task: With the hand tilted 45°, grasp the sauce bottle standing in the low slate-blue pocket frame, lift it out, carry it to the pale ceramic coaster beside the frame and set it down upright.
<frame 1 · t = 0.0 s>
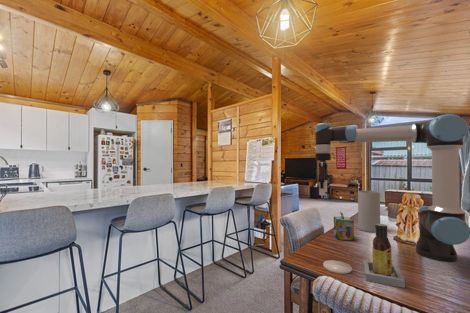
hand: (323, 193, 120), 28 cm above the table, tool pointing down, fingers open, 13 cm apart
coaster: (337, 267, 96), on the table
chalk box: (343, 238, 135), on the table
pocket frame: (382, 276, 89), on the table
sauce bottle: (382, 276, 89), resting in pocket frame
cylinder vase: (369, 230, 151), on the table
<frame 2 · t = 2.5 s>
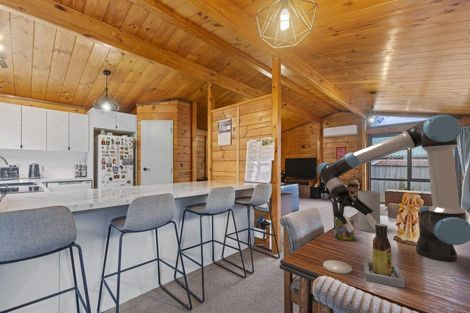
hand: (364, 229, 96), 16 cm above the table, tool tilted 45°, fingers open, 13 cm apart
nothing on the table moved.
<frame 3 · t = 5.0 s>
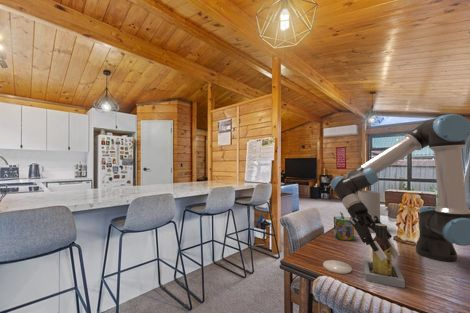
hand: (390, 257, 86), 8 cm above the table, tool tilted 45°, fingers closed on sauce bottle, 6 cm apart
sauce bottle: (382, 276, 89), resting in pocket frame, touching gripper
everything else where it was.
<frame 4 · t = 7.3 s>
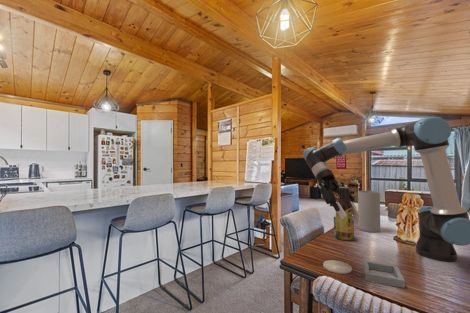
hand: (351, 216, 92), 22 cm above the table, tool tilted 45°, fingers closed on sauce bottle, 6 cm apart
sauce bottle: (343, 235, 95), point 14 cm above the table, touching gripper
everything else where it was.
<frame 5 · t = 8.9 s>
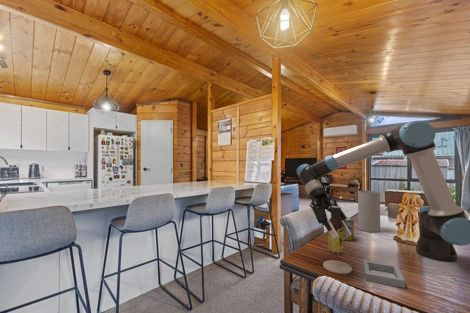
hand: (342, 236, 94), 14 cm above the table, tool tilted 45°, fingers closed on sauce bottle, 6 cm apart
sauce bottle: (336, 254, 97), point 5 cm above the table, touching gripper
everything else where it was.
when the fingers open (11 cm above the table, at t = 9.9 s): sauce bottle drops 2 cm, resting on coaster.
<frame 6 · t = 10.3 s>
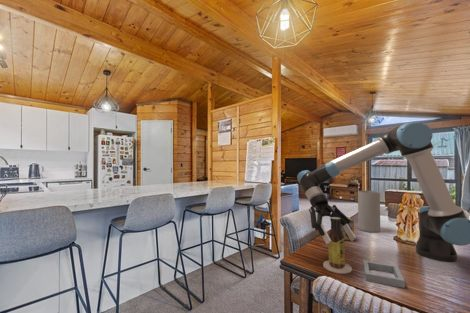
hand: (341, 241, 94), 12 cm above the table, tool tilted 45°, fingers open, 12 cm apart
sauce bottle: (337, 266, 96), point 1 cm above the table, touching coaster
everything else where it was.
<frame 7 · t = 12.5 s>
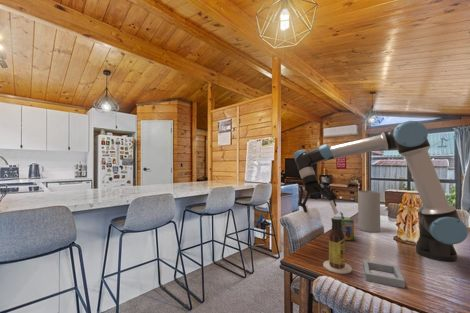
hand: (323, 216, 113), 18 cm above the table, tool tilted 30°, fingers open, 13 cm apart
nothing on the table moved.
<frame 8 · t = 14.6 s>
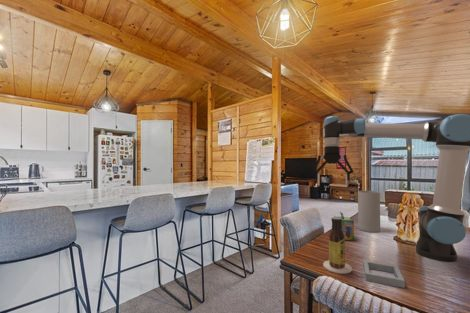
hand: (332, 186, 121), 32 cm above the table, tool pointing down, fingers open, 13 cm apart
nothing on the table moved.
at the end: sauce bottle 0.1 cm from the coaster (horizontally); sauce bottle tilted 0°; the gripper is holding nothing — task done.
